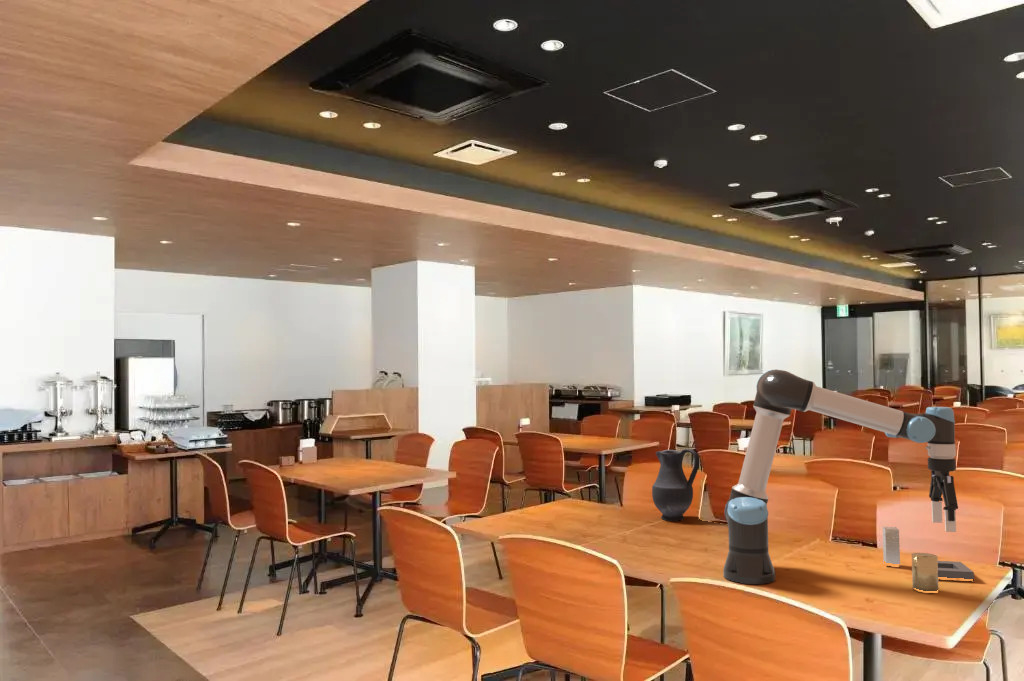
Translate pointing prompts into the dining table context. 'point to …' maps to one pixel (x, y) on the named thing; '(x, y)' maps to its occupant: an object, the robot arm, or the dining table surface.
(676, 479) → the pitcher
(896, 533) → the square bit
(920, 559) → the round bit
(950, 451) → the robot arm
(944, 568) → the bore block
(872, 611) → the dining table surface
